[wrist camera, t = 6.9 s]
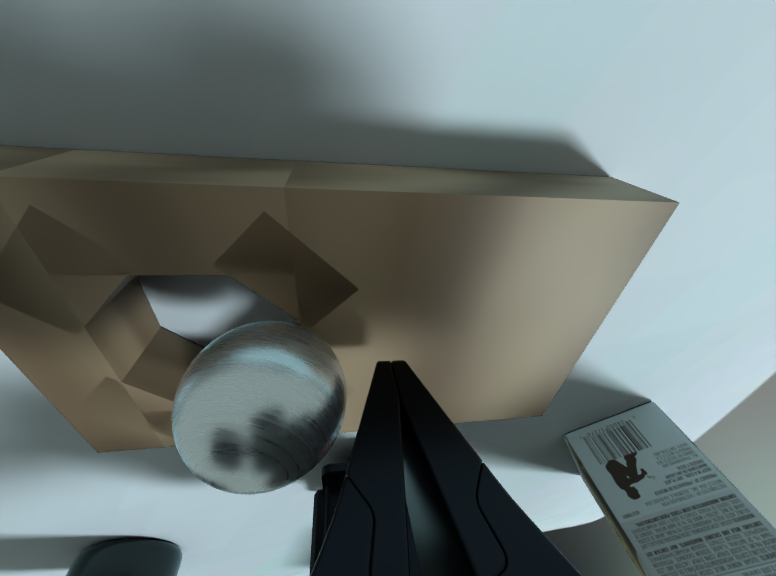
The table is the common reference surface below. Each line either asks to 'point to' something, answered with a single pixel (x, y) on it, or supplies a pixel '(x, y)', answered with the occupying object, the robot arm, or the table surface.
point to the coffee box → (670, 499)
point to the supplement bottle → (128, 559)
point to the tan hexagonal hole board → (309, 274)
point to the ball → (259, 407)
